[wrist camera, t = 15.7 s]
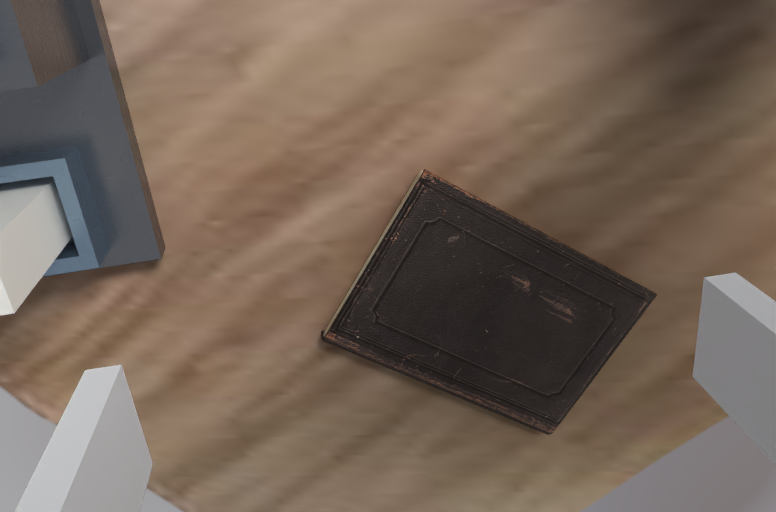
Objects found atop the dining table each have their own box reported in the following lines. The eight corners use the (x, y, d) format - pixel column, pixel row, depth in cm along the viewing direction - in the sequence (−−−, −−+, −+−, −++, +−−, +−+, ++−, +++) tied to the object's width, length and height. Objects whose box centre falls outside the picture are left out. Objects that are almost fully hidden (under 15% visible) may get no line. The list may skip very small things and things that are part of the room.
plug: (-4, 184, 44) (-96, 256, 33) (59, 175, 45) (-13, 244, 34) (20, 250, 46) (-59, 338, 35) (80, 241, 47) (19, 326, 36)
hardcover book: (419, 161, 51) (425, 170, 49) (644, 283, 58) (657, 295, 56) (319, 329, 55) (321, 344, 53) (539, 422, 62) (548, 438, 60)
